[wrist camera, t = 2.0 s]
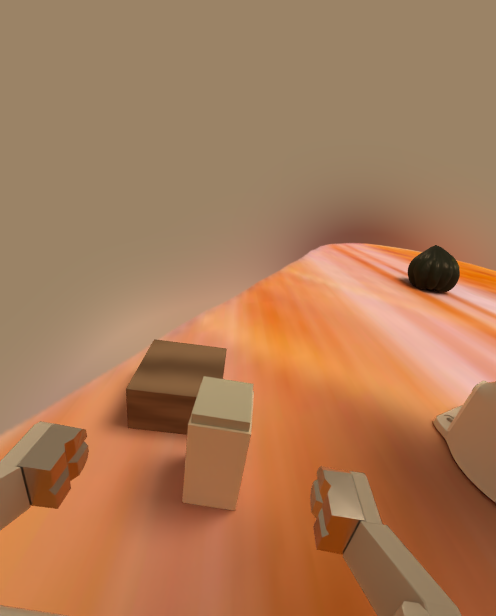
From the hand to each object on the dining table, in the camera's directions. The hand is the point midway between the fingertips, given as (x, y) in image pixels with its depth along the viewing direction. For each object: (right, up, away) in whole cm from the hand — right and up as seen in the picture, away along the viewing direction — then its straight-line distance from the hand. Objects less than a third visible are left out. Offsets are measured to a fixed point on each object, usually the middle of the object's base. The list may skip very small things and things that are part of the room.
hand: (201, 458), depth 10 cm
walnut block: (-7, -7, +28) cm, 30 cm away
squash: (+63, +12, +92) cm, 113 cm away
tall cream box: (-2, -12, +19) cm, 23 cm away
